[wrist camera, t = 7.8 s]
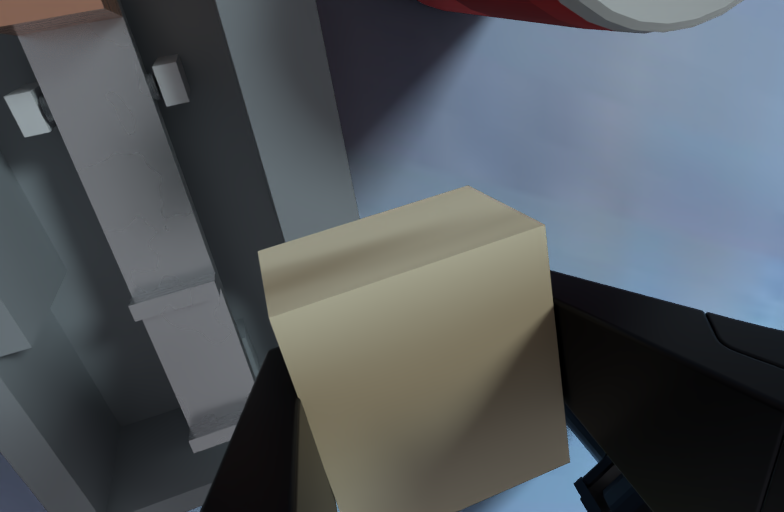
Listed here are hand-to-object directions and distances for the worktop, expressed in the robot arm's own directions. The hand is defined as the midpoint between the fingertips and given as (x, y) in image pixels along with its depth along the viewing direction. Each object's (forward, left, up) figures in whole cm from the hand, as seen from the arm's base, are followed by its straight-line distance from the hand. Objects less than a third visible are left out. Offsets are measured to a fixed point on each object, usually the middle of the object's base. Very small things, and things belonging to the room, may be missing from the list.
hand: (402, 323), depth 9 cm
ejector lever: (0, +5, -11) cm, 12 cm away
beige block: (-1, 0, -1) cm, 1 cm away
